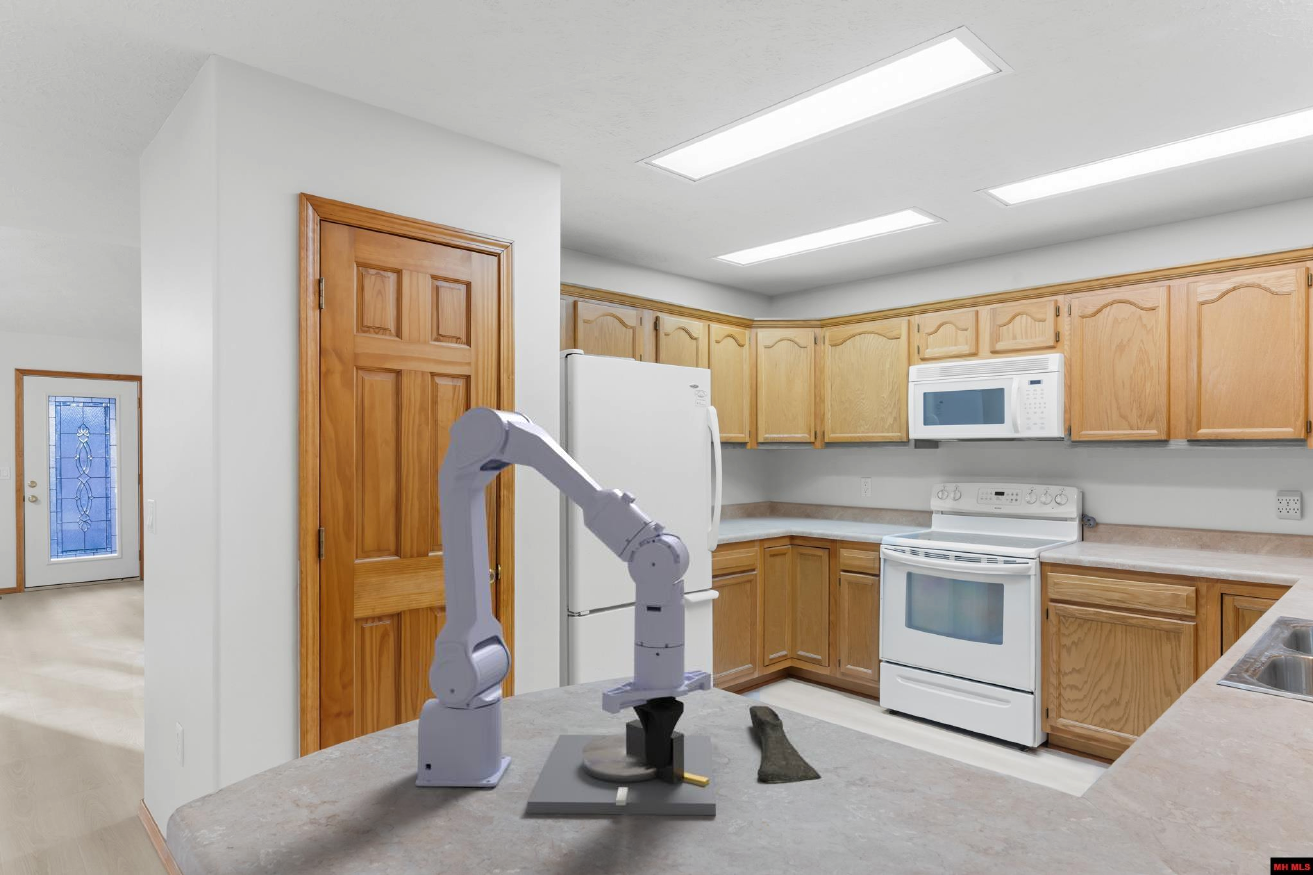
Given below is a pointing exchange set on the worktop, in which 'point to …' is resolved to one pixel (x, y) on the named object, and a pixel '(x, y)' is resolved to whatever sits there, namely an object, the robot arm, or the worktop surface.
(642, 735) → the dial
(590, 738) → the board
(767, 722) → the tool
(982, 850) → the worktop surface
